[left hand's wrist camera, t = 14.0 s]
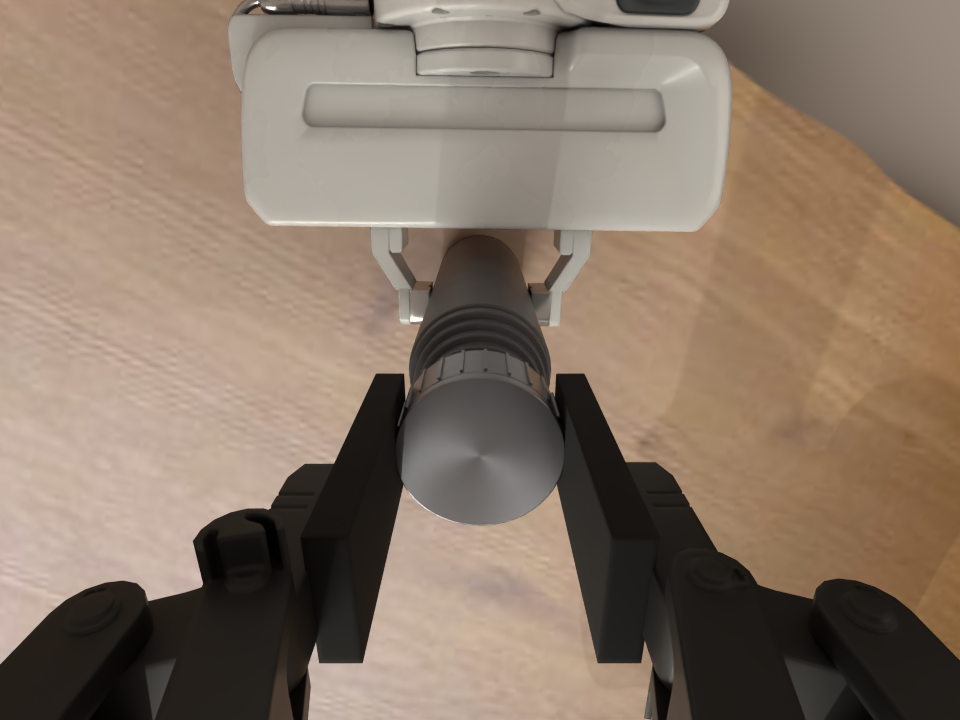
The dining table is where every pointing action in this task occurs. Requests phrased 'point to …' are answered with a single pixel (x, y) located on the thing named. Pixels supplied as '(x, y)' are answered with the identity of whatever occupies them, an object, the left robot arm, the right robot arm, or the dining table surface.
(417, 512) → the dining table surface
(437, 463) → the cap
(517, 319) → the bottle
